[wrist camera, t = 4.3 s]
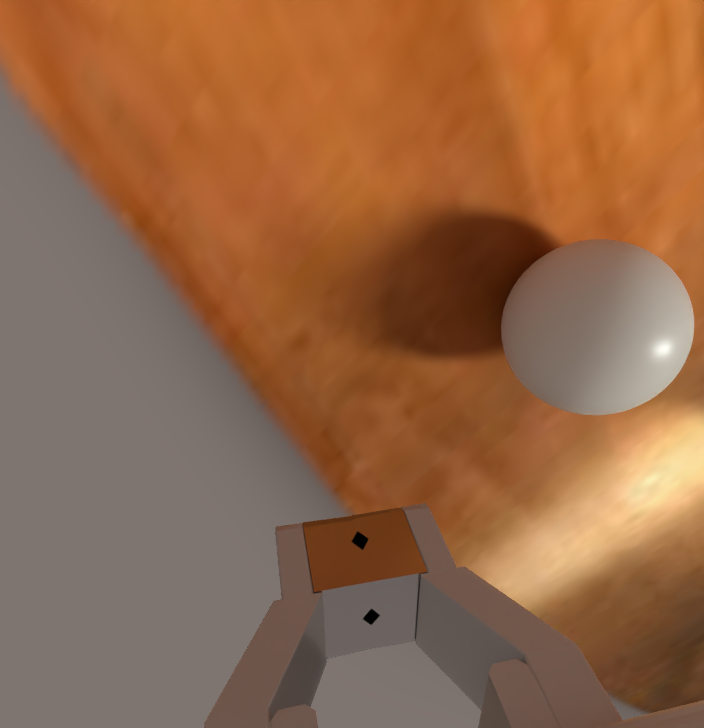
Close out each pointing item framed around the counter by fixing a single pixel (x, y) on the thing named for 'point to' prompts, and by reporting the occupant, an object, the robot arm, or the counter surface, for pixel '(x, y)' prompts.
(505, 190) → the counter surface
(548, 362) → the ball
